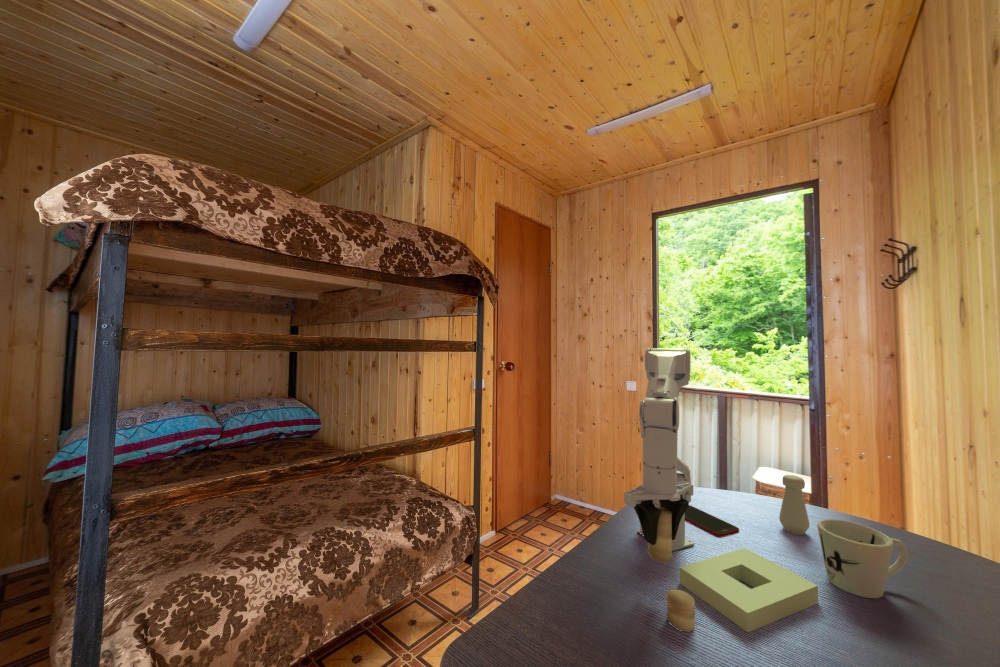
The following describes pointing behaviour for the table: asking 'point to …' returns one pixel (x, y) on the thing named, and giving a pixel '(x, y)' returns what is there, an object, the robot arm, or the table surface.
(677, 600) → the short peg
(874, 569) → the mug
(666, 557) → the tall peg
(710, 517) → the cell phone
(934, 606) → the table surface
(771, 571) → the hole board
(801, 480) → the salt shaker
